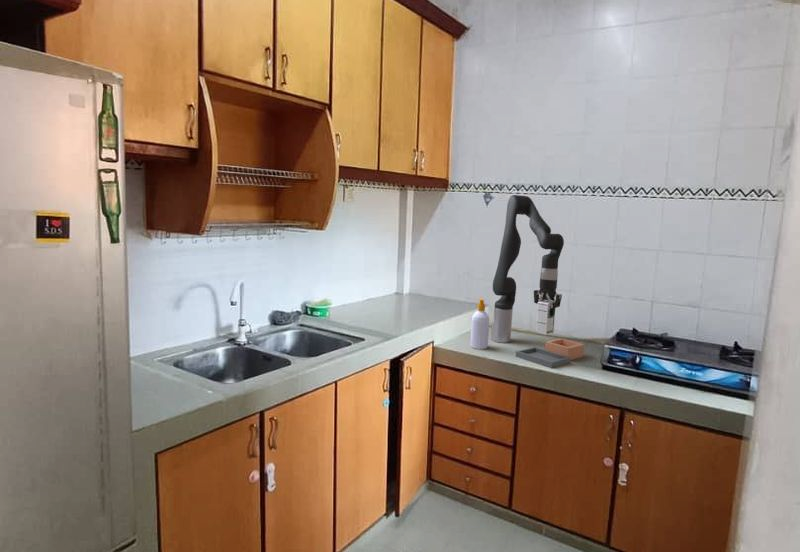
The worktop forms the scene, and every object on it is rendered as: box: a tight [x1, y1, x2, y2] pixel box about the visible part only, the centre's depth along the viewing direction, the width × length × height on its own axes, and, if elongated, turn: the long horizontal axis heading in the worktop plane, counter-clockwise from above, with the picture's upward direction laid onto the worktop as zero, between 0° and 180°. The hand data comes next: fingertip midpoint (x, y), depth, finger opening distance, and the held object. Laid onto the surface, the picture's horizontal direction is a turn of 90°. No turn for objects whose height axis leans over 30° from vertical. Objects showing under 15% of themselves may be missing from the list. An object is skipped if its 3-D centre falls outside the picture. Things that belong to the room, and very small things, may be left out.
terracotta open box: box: [544, 338, 585, 361], centre depth 248 cm, size 12×12×6 cm
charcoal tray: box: [515, 346, 572, 369], centre depth 240 cm, size 20×14×3 cm
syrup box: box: [535, 300, 556, 336], centre depth 237 cm, size 6×6×14 cm
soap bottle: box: [469, 297, 490, 350], centre depth 257 cm, size 9×9×24 cm
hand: (545, 314), depth 237 cm, fingers closed on syrup box, 6 cm apart
